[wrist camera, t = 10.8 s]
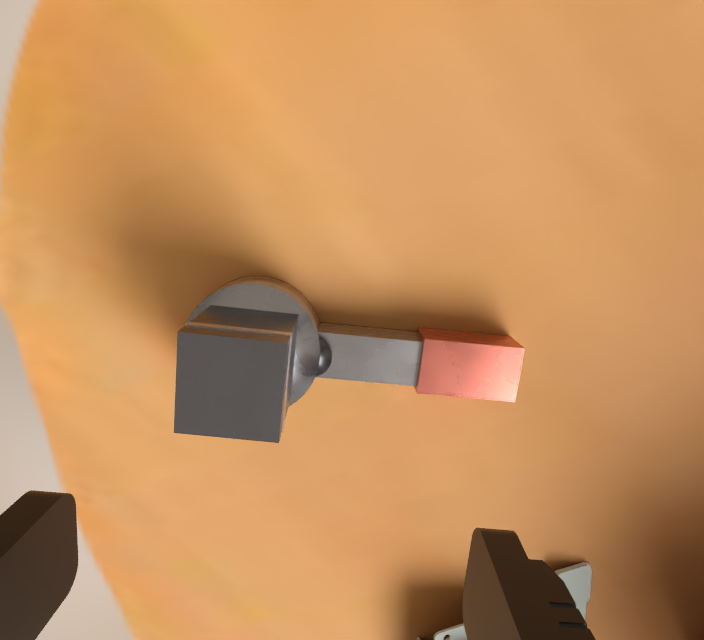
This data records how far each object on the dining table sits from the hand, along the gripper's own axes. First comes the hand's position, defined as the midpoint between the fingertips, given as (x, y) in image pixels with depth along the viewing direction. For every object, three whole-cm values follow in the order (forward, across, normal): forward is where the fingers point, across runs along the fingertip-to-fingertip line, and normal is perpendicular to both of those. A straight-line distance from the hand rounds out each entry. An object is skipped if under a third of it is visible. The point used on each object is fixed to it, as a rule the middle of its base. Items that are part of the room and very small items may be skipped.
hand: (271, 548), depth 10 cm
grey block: (+20, +4, +2) cm, 20 cm away
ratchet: (+23, -1, +2) cm, 23 cm away
